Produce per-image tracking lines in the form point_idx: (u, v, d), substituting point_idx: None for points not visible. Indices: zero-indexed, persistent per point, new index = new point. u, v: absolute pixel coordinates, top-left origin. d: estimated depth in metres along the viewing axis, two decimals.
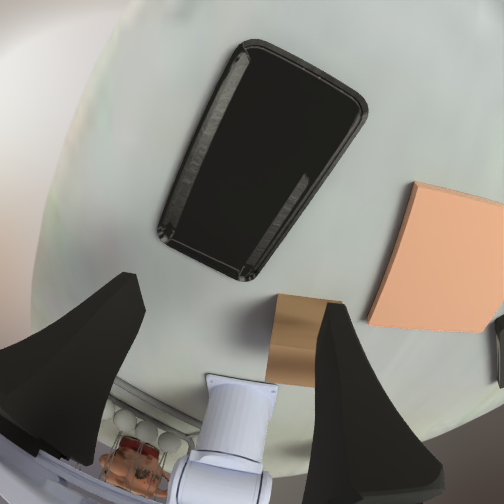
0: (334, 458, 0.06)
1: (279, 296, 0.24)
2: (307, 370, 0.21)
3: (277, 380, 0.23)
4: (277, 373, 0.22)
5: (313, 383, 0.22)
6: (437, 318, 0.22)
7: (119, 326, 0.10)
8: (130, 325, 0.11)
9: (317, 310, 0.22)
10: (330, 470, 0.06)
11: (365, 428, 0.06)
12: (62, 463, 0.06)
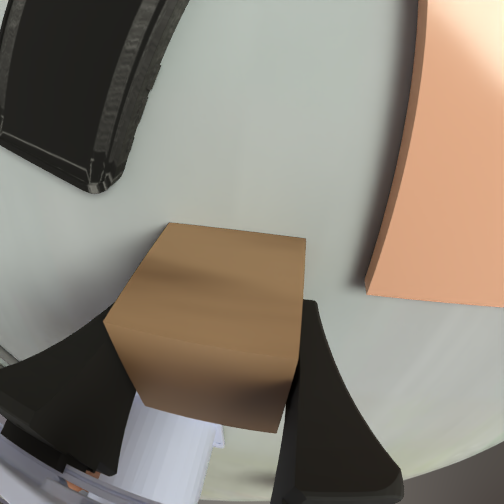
0: (290, 455, 0.06)
1: (168, 228, 0.11)
2: (216, 395, 0.09)
3: (166, 407, 0.10)
4: (157, 393, 0.09)
5: (242, 422, 0.10)
6: None
7: None
8: None
9: (243, 254, 0.10)
10: (287, 467, 0.06)
11: (321, 426, 0.06)
12: (62, 463, 0.06)
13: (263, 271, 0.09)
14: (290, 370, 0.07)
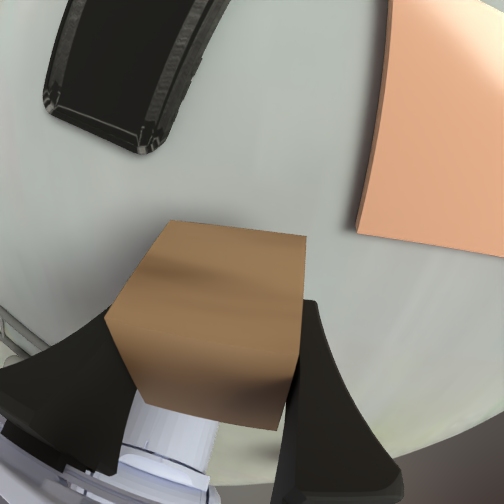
0: (290, 455, 0.06)
1: (169, 225, 0.11)
2: (216, 392, 0.09)
3: (166, 405, 0.10)
4: (157, 391, 0.09)
5: (242, 419, 0.10)
6: (472, 225, 0.12)
7: None
8: None
9: (244, 251, 0.10)
10: (287, 467, 0.06)
11: (321, 426, 0.06)
12: (62, 463, 0.06)
13: (263, 268, 0.09)
14: (290, 366, 0.07)
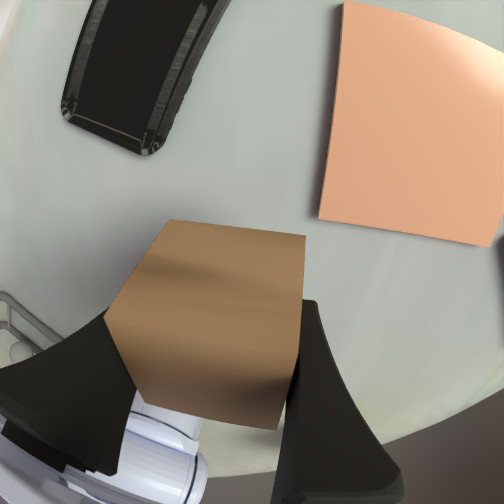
0: (290, 455, 0.06)
1: (168, 225, 0.11)
2: (216, 392, 0.09)
3: (166, 405, 0.10)
4: (157, 390, 0.09)
5: (242, 419, 0.10)
6: (421, 211, 0.16)
7: None
8: None
9: (243, 250, 0.10)
10: (287, 467, 0.06)
11: (320, 426, 0.06)
12: (62, 463, 0.06)
13: (262, 267, 0.09)
14: (290, 365, 0.07)
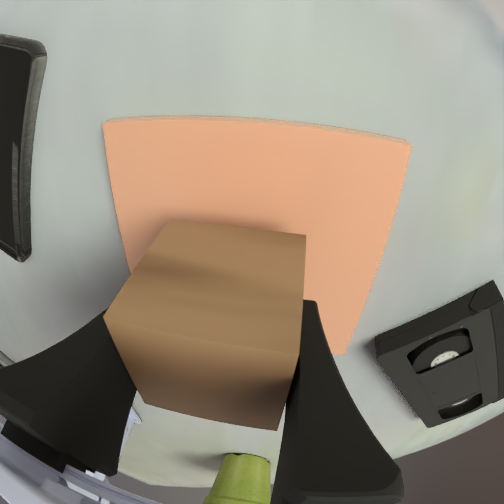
0: (290, 455, 0.06)
1: (168, 224, 0.11)
2: (216, 392, 0.09)
3: (166, 405, 0.10)
4: (157, 390, 0.09)
5: (242, 419, 0.10)
6: None
7: None
8: None
9: (244, 250, 0.10)
10: (287, 467, 0.06)
11: (320, 426, 0.06)
12: (62, 463, 0.06)
13: (263, 266, 0.09)
14: (291, 365, 0.07)
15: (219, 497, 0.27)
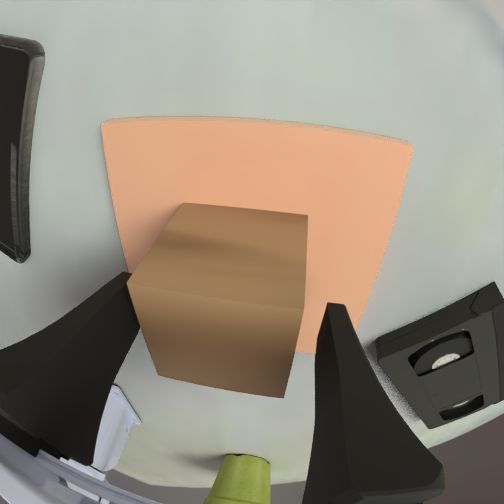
0: (334, 458, 0.06)
1: (183, 206, 0.12)
2: (228, 355, 0.10)
3: (179, 375, 0.11)
4: (171, 359, 0.10)
5: (251, 386, 0.11)
6: None
7: (119, 326, 0.10)
8: (130, 325, 0.11)
9: (252, 227, 0.11)
10: (330, 470, 0.06)
11: (365, 428, 0.06)
12: (62, 463, 0.06)
13: (270, 240, 0.10)
14: (297, 322, 0.08)
15: (219, 498, 0.27)
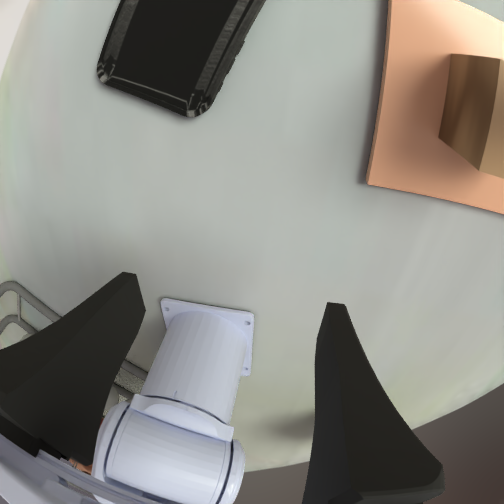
0: (334, 458, 0.06)
1: (456, 54, 0.11)
2: None
3: (497, 167, 0.10)
4: (502, 143, 0.09)
5: None
6: (462, 179, 0.15)
7: (119, 326, 0.10)
8: (130, 325, 0.11)
9: None
10: (330, 470, 0.06)
11: (365, 428, 0.06)
12: (62, 463, 0.06)
13: None
14: None
15: None
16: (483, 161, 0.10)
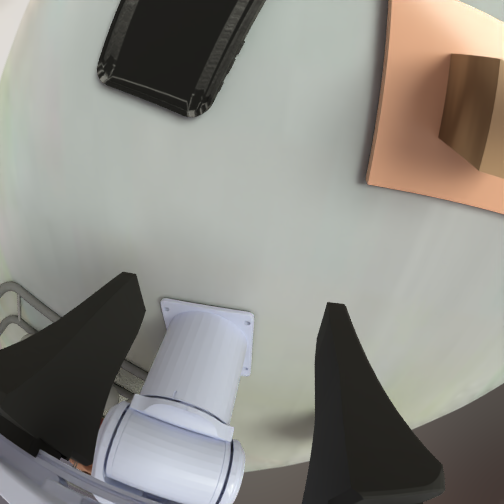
0: (334, 458, 0.06)
1: (456, 54, 0.11)
2: None
3: (497, 167, 0.10)
4: (502, 143, 0.09)
5: None
6: (462, 179, 0.15)
7: (119, 326, 0.10)
8: (130, 325, 0.11)
9: None
10: (330, 470, 0.06)
11: (365, 428, 0.06)
12: (62, 463, 0.06)
13: None
14: None
15: None
16: (483, 161, 0.10)
